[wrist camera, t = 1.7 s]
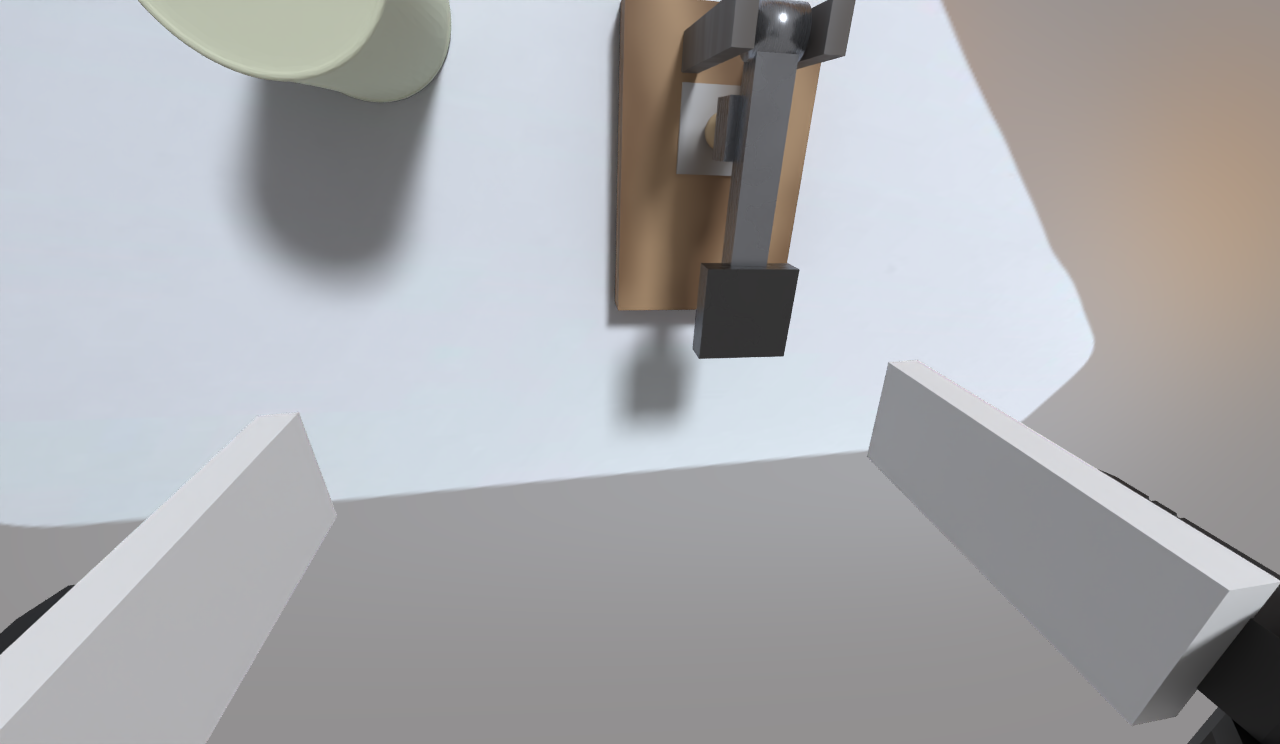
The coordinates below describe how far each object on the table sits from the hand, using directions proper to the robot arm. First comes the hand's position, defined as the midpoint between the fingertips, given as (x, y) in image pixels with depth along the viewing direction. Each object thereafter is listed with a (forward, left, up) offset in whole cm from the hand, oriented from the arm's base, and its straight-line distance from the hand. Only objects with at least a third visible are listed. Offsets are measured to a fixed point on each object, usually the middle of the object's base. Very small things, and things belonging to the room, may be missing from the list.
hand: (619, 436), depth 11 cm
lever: (+9, +4, -19) cm, 21 cm away
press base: (+9, +4, -25) cm, 27 cm away
